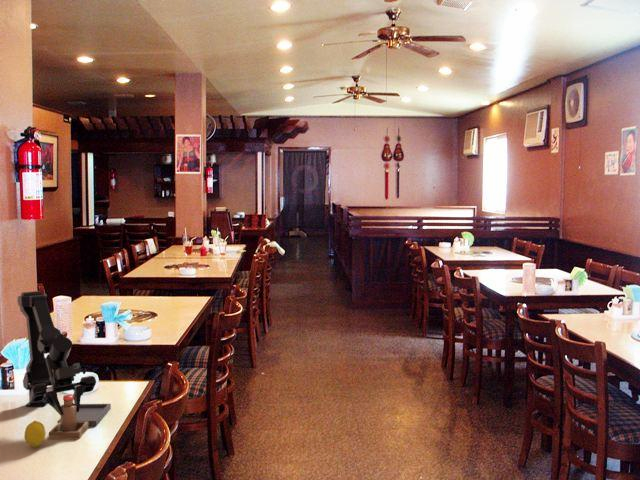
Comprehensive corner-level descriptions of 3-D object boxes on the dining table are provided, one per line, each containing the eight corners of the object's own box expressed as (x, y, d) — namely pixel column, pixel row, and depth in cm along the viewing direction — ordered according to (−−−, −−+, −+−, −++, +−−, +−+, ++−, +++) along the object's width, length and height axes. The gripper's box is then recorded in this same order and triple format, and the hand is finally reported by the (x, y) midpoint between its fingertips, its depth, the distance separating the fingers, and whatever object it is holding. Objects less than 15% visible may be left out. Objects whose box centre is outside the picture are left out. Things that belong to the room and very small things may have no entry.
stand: (59, 428, 196) (59, 421, 196) (88, 427, 196) (88, 421, 196) (48, 439, 187) (48, 432, 187) (79, 438, 188) (79, 432, 187)
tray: (74, 409, 213) (74, 404, 213) (110, 408, 213) (110, 403, 213) (57, 426, 197) (57, 421, 197) (96, 426, 198) (96, 420, 197)
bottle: (64, 429, 194) (63, 393, 193) (79, 429, 194) (78, 393, 193) (58, 435, 189) (57, 398, 188) (74, 435, 190) (73, 398, 189)
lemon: (37, 452, 178) (37, 425, 177) (20, 450, 179) (19, 423, 178) (49, 444, 183) (49, 418, 183) (33, 443, 184) (32, 416, 184)
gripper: (31, 360, 187) (42, 406, 179) (93, 350, 199) (106, 393, 191) (25, 379, 194) (35, 424, 186) (85, 369, 206) (98, 411, 198)
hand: (70, 413), depth 190 cm, fingers closed on bottle, 5 cm apart
